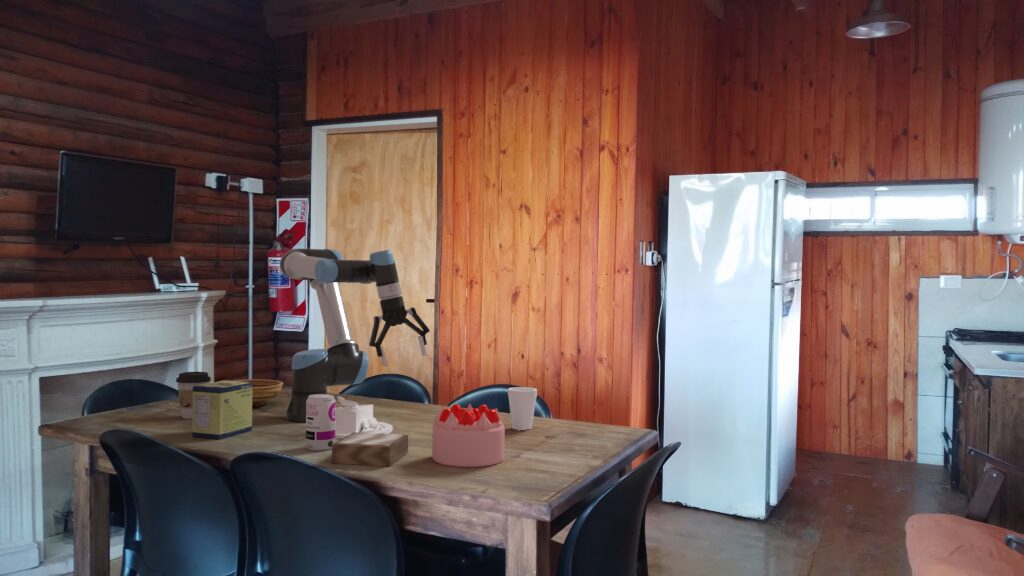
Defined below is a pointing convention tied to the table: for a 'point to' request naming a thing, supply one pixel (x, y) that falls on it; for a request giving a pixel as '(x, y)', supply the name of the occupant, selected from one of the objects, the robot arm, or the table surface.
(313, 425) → the supplement can
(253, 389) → the wicker basket
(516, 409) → the foam cup
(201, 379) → the coffee cup
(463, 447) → the cake
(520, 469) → the table surface
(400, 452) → the walnut stand
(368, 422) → the dish
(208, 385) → the protein box
